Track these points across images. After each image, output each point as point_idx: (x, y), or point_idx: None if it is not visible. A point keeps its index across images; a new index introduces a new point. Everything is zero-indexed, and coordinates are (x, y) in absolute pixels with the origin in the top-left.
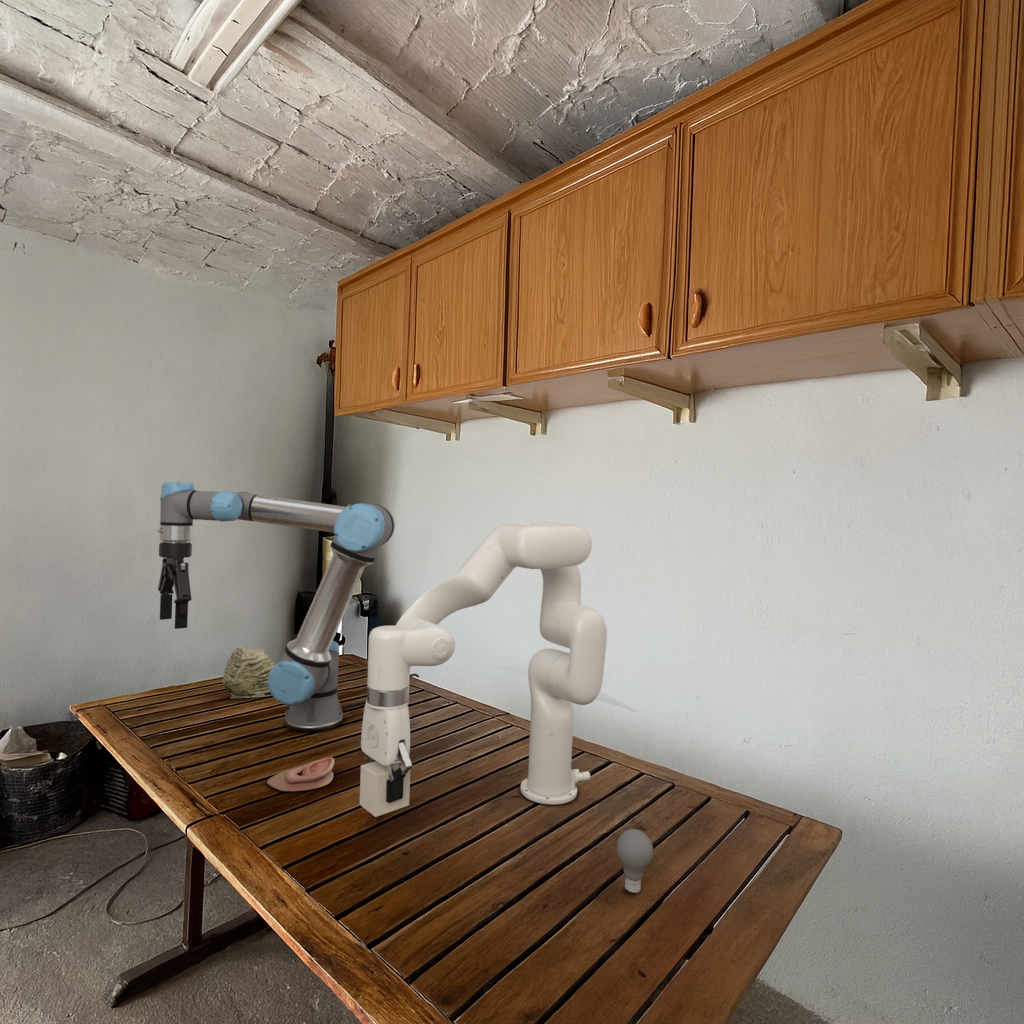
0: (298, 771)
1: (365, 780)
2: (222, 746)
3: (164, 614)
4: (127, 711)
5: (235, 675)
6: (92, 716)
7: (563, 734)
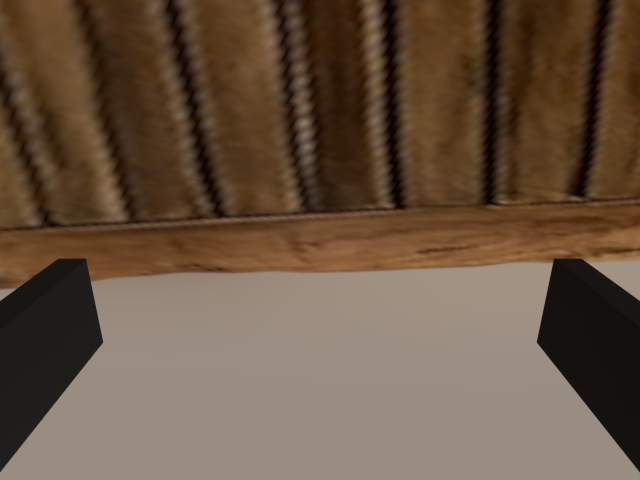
0: None
1: None
2: (520, 49)
3: (72, 341)
4: (60, 193)
5: None
6: None
7: None
